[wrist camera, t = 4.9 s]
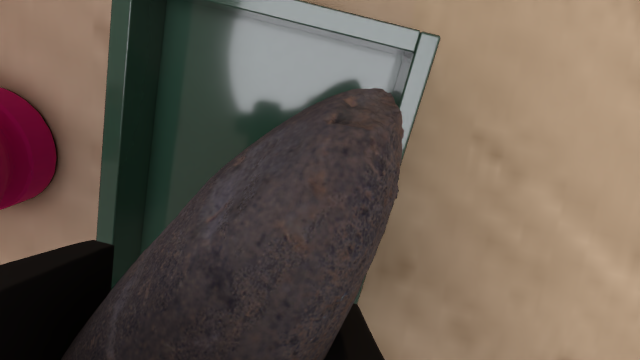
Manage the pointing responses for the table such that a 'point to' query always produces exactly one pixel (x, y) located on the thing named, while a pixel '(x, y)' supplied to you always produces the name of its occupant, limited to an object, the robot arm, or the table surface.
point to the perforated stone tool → (263, 245)
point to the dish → (227, 94)
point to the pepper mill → (23, 151)
